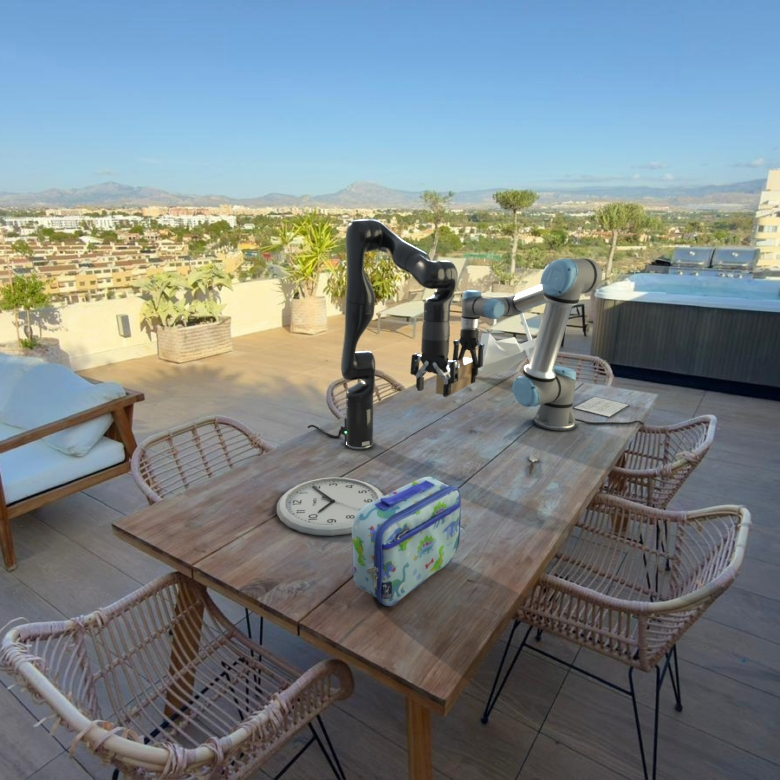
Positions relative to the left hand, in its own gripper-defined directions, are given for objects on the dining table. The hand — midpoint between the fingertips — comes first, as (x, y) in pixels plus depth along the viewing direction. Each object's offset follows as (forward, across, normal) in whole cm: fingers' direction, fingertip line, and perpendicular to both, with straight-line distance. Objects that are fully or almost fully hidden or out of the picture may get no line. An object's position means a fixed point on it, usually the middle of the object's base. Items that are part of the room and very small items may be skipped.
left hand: (433, 393), depth 147 cm
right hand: (+18, -29, +73) cm, 81 cm away
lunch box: (+28, +20, -40) cm, 53 cm away
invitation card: (+28, +20, +107) cm, 112 cm away
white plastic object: (+28, -28, +113) cm, 120 cm away
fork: (+28, +19, +32) cm, 47 cm away
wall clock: (+28, -14, -27) cm, 42 cm away
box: (+19, -28, +64) cm, 73 cm away
